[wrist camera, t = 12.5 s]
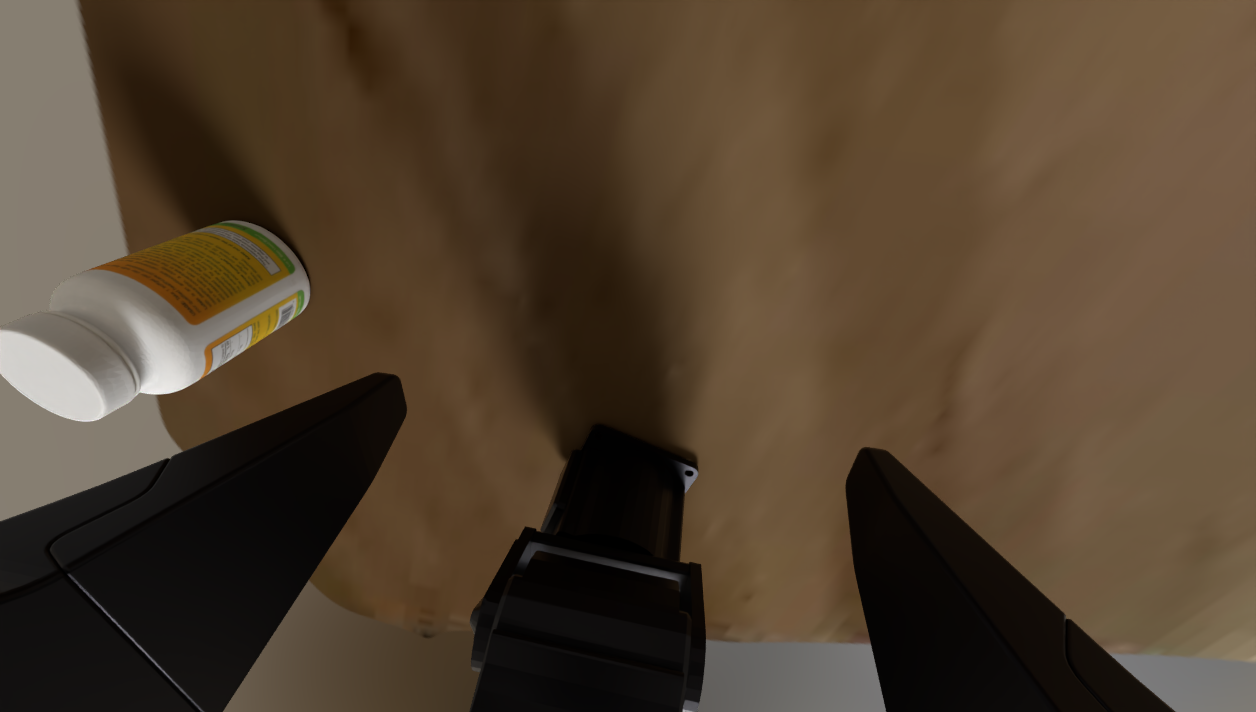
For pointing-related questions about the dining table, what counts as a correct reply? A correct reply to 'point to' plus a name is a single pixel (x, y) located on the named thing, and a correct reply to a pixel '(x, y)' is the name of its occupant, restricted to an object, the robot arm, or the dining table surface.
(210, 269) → the supplement bottle
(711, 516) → the dining table surface
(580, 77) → the dining table surface
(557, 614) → the robot arm
